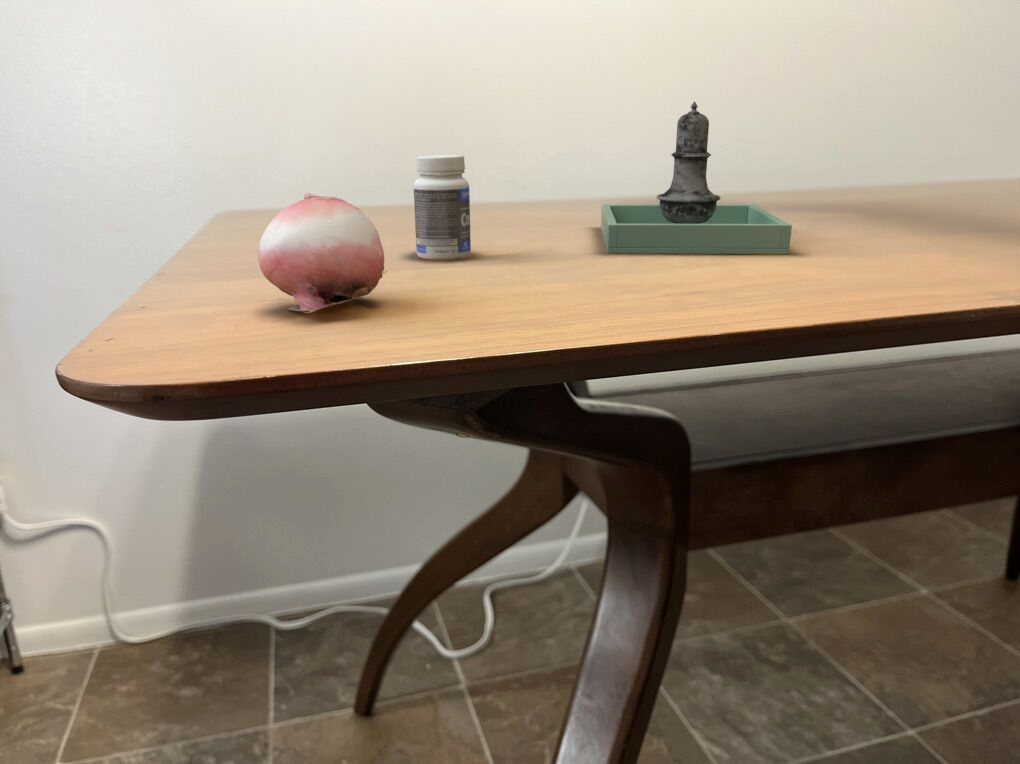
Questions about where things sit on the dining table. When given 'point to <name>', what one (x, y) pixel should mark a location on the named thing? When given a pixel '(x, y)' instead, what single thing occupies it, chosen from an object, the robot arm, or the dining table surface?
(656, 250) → the tray
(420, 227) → the pill bottle
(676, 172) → the salt shaker
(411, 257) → the dining table surface
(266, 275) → the onion
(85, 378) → the dining table surface
